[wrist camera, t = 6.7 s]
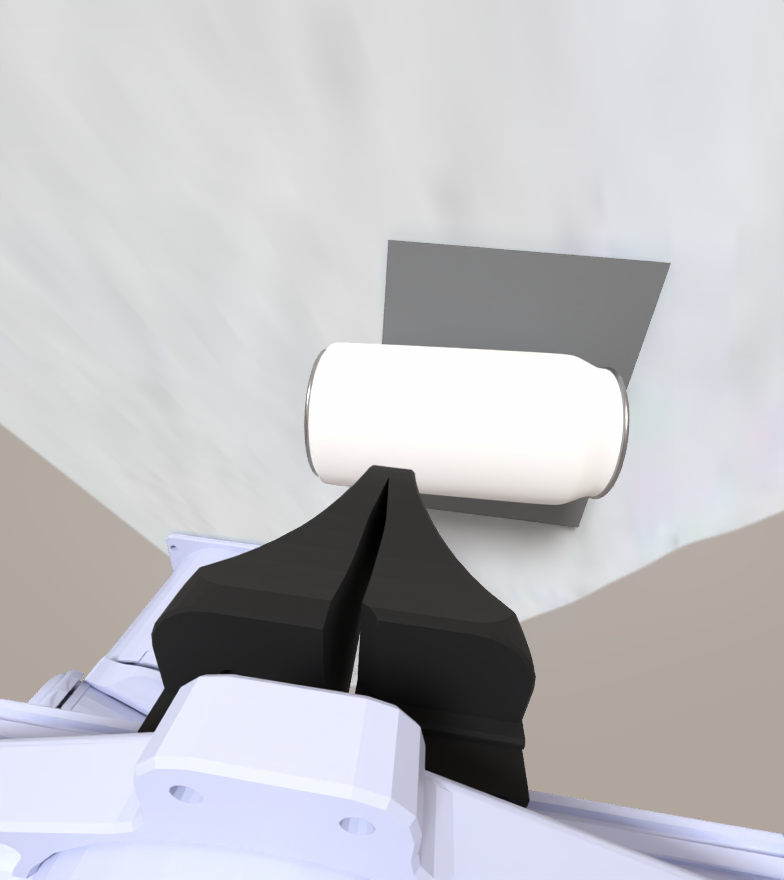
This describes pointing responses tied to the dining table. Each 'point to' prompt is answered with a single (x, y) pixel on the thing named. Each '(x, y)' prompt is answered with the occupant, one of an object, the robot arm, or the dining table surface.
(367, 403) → the can
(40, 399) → the dining table surface
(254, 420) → the dining table surface
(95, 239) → the dining table surface
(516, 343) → the mat
